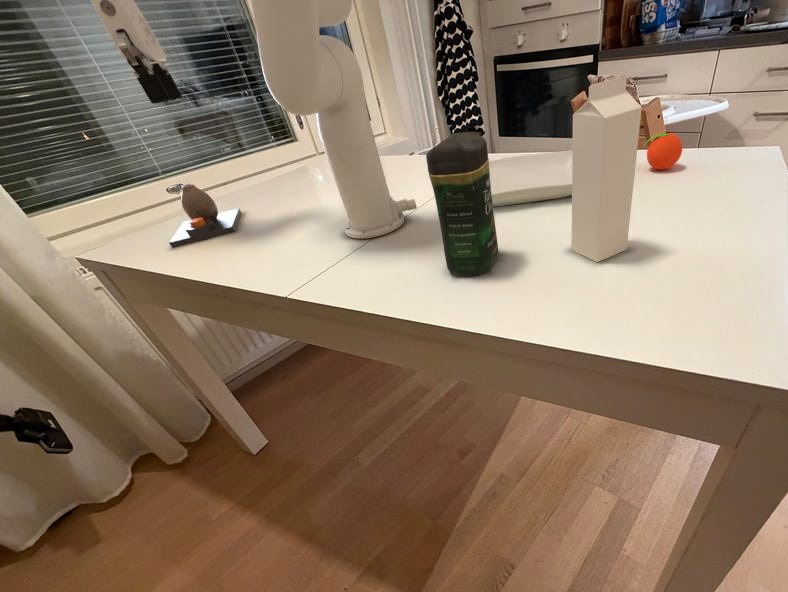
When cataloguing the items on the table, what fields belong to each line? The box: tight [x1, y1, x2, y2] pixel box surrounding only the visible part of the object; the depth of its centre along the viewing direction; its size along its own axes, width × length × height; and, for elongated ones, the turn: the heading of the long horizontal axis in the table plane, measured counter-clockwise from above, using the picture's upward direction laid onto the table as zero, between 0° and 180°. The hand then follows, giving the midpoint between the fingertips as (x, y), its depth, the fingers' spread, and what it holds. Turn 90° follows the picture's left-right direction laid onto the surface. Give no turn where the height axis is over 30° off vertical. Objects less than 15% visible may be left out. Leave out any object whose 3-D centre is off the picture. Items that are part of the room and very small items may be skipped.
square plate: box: [489, 149, 573, 207], centre depth 88 cm, size 27×27×4 cm
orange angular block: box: [188, 218, 206, 228], centre depth 92 cm, size 3×3×2 cm
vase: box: [180, 183, 219, 221], centre depth 97 cm, size 7×7×9 cm
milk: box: [570, 75, 643, 263], centre depth 55 cm, size 6×6×22 cm
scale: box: [168, 207, 243, 249], centre depth 98 cm, size 14×16×3 cm
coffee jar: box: [425, 131, 499, 276], centre depth 58 cm, size 10×8×19 cm
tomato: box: [643, 132, 683, 171], centre depth 84 cm, size 8×7×7 cm
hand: (168, 100), depth 77 cm, fingers open, 9 cm apart
